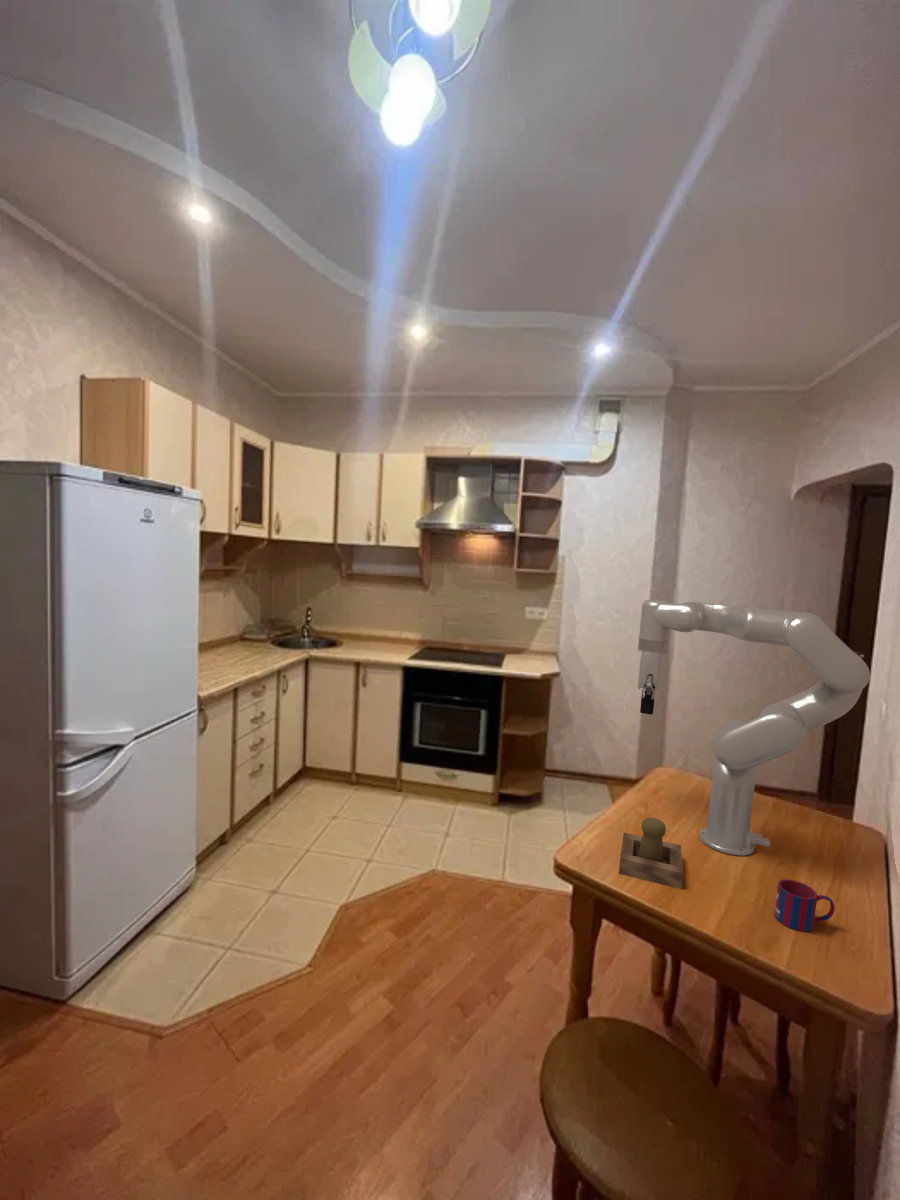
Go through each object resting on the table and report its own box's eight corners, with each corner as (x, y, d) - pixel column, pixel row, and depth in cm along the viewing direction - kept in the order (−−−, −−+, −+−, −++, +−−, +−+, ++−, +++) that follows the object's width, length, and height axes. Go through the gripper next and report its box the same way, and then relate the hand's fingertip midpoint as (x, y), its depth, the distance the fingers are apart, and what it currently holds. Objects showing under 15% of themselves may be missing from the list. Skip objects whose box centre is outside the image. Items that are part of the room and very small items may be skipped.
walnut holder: (679, 859, 134) (680, 845, 133) (681, 888, 122) (682, 873, 121) (622, 846, 138) (623, 832, 138) (618, 873, 126) (620, 858, 126)
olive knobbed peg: (665, 875, 126) (670, 828, 125) (637, 870, 128) (642, 824, 127) (661, 861, 132) (665, 816, 131) (634, 857, 133) (638, 812, 133)
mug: (771, 906, 117) (775, 875, 117) (827, 921, 114) (832, 889, 113) (777, 925, 111) (781, 893, 111) (836, 941, 108) (841, 907, 107)
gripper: (639, 640, 160) (633, 699, 161) (637, 649, 144) (630, 714, 145) (667, 643, 157) (661, 703, 159) (668, 652, 141) (661, 719, 143)
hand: (646, 709), depth 152 cm, fingers open, 9 cm apart
